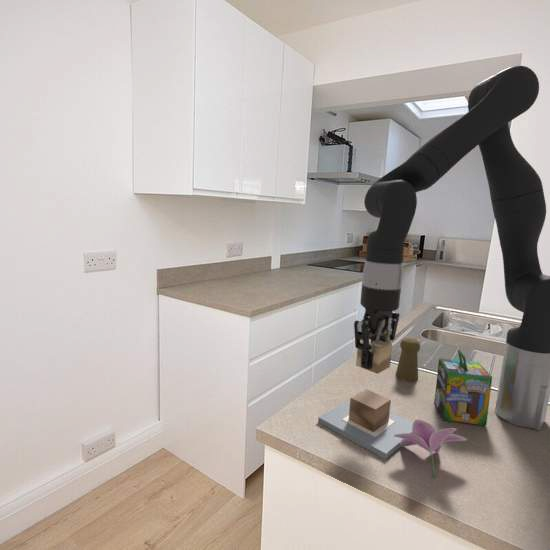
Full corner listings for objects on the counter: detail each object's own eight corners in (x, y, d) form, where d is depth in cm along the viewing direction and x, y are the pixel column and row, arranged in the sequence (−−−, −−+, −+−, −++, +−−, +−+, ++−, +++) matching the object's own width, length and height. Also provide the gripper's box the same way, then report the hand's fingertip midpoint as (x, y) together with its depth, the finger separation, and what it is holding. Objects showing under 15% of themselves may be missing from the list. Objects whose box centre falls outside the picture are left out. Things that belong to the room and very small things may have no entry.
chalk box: (486, 427, 80) (496, 363, 77) (441, 421, 82) (450, 358, 79) (473, 405, 89) (481, 347, 86) (432, 400, 91) (440, 343, 88)
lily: (474, 474, 67) (465, 417, 70) (466, 486, 57) (455, 419, 60) (407, 469, 73) (401, 417, 76) (389, 478, 63) (383, 419, 67)
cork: (395, 379, 101) (399, 341, 100) (395, 370, 107) (399, 334, 105) (419, 383, 100) (423, 344, 98) (417, 374, 105) (421, 337, 104)
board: (419, 430, 78) (419, 424, 77) (385, 459, 68) (386, 452, 68) (354, 400, 89) (355, 395, 89) (318, 422, 79) (318, 416, 79)
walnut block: (388, 421, 78) (390, 399, 77) (373, 432, 74) (375, 409, 73) (364, 409, 82) (366, 389, 81) (348, 419, 78) (350, 397, 77)
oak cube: (389, 367, 76) (392, 344, 75) (377, 373, 73) (380, 349, 72) (368, 359, 80) (370, 337, 79) (355, 365, 76) (358, 342, 75)
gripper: (379, 291, 66) (371, 381, 68) (415, 283, 75) (406, 361, 78) (344, 284, 71) (338, 367, 74) (382, 277, 81) (375, 351, 84)
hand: (373, 364), depth 76 cm, fingers closed on oak cube, 5 cm apart
